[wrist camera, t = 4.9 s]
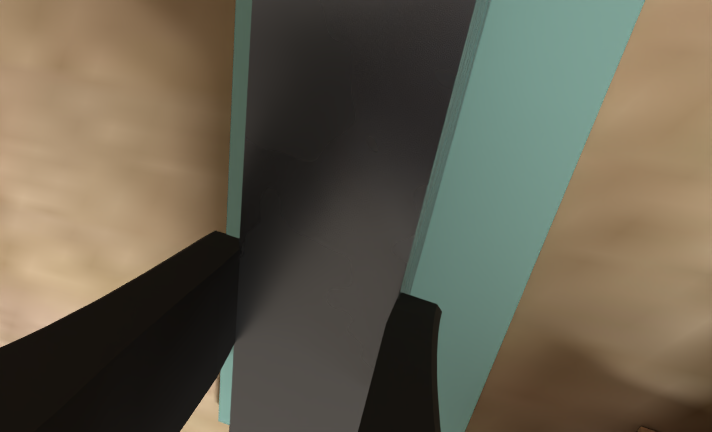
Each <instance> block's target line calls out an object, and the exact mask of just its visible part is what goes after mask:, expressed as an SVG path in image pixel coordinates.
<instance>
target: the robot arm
mask: <svg viewBox="0 0 712 432" xmlns="http://www.w3.org/2000/svg"><path fill="white" fill-rule="evenodd" d="M239 264H240V248H239V238H236V237H233V236H230V235H227V234H224V233H221V232H218V231H214V232H212V233H210V234H208V235H206V236H205V237H203V238H201V239H200V240H198V241H196V242H195V243H193V244H191V245H190V246H188V247H187V248H185V249H183V250H182V251H180V252H178V253H177V254H175V255H174V256H172V257H170V258H169V259H167V260H165V261H164V262H162V263H160V264H159V265H157V266H155V267H154V268H152V269H150V270H149V271H147V272H145V273H144V274H142V275H140V276H138V277H137V278H135V279H133V280H131V281H130V282H128V283H126V284H125V285H123V286H121V287H119V288H118V289H116V290H114V291H112V292H111V293H109V294H107V295H105V296H104V297H102V298H100V299H98V300H96V301H94V302H93V303H91V304H89V305H87V306H85V307H83V308H81V309H79V310H77V311H75V312H73V313H71V314H69V315H67V316H65V317H63V318H62V319H60V320H58V321H56V322H54V323H52V324H50V325H48V326H46V327H44V328H42V329H40V330H38V331H36V332H33V333H31V334H29V335H27V336H25V337H23V338H21V339H18V340H16V341H14V342H12V343H10V344H7V345H5V346H3V347H0V432H180V431H181V429H182V428H183V426H184V425H185V423H186V422H187V421H188V419H189V418H190V416H191V415H192V413H193V412H194V410H195V409H196V407H197V406H198V404H199V403H200V402H201V400H202V399H203V397H204V396H205V394H206V393H207V391H208V390H209V388H210V387H211V385H212V384H213V382H214V381H215V379H216V378H217V376H218V374H219V372H220V370H221V369H222V367H223V365H224V363H225V361H226V359H227V357H228V356H229V354H230V352H231V350H232V348H233V346H234V344H235V337H236V319H237V301H238V282H239ZM441 314H442V311H441V309H440V307H439V306H438V304H436V303H433V302H430V301H427V300H424V299H421V298H418V297H415V296H411V295H408V294H405V293H402V292H401V295H400V297H399V299H398V301H396V302H395V304H394V307H393V309H392V311H391V313H390V316H389V318H388V320H387V322H386V326H385V330H384V334H383V337H382V341H381V345H380V349H379V353H378V357H377V360H376V364H375V368H374V372H373V376H372V380H371V383H370V387H369V391H368V395H367V399H366V402H365V406H364V410H363V414H362V418H361V422H360V425H359V429H358V432H441V427H440V414H439V401H438V384H437V348H438V333H439V325H440V319H441Z"/></svg>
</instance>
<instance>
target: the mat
mask: <svg viewBox="0 0 712 432" xmlns="http://www.w3.org/2000/svg"><path fill="white" fill-rule="evenodd" d="M644 2H645V0H491V3H490V7H489V10H488V14H487V17H486V21H485V25H484V28H483V32H482V36H481V39H480V43H479V46H478V50H477V54H476V57H475V61H474V65H473V68H472V72H471V76H470V79H469V83H468V86H467V90H466V94H465V97H464V101H463V105H462V108H461V112H460V115H459V119H458V123H457V126H456V130H455V134H454V137H453V141H452V144H451V148H450V152H449V155H448V159H447V163H446V166H445V170H444V173H443V177H442V181H441V184H440V188H439V192H438V195H437V199H436V202H435V206H434V210H433V213H432V217H431V221H430V224H429V228H428V232H427V235H426V239H425V242H424V246H423V250H422V253H421V257H420V261H419V264H418V268H417V271H416V275H415V279H414V282H413V286H412V290H411V293H410V295H411V296H415V297H418V298H421V299H424V300H427V301H430V302H433V303H436V304H438V306H439V307H440V309H441V311H442V314H441V319H440V325H439V333H438V348H437V384H438V401H439V414H440V427H441V432H465V430H466V428H467V425H468V423H469V420H470V418H471V416H472V413H473V411H474V408H475V406H476V404H477V401H478V399H479V397H480V394H481V392H482V389H483V387H484V385H485V382H486V380H487V377H488V375H489V373H490V370H491V368H492V365H493V363H494V361H495V358H496V356H497V353H498V351H499V349H500V346H501V344H502V341H503V339H504V337H505V334H506V332H507V330H508V327H509V325H510V322H511V320H512V318H513V315H514V313H515V310H516V308H517V306H518V303H519V301H520V298H521V296H522V294H523V291H524V289H525V286H526V284H527V282H528V279H529V277H530V274H531V272H532V270H533V267H534V265H535V263H536V260H537V258H538V255H539V253H540V251H541V248H542V246H543V243H544V241H545V239H546V236H547V234H548V231H549V229H550V227H551V224H552V222H553V219H554V217H555V215H556V212H557V210H558V207H559V205H560V203H561V200H562V198H563V196H564V193H565V191H566V188H567V186H568V184H569V181H570V179H571V176H572V174H573V172H574V169H575V167H576V164H577V162H578V160H579V157H580V155H581V152H582V150H583V148H584V145H585V143H586V140H587V138H588V136H589V133H590V131H591V129H592V126H593V124H594V121H595V119H596V117H597V114H598V112H599V109H600V107H601V105H602V102H603V100H604V97H605V95H606V93H607V90H608V88H609V85H610V83H611V81H612V78H613V76H614V73H615V71H616V69H617V66H618V64H619V61H620V59H621V57H622V54H623V52H624V50H625V47H626V45H627V42H628V40H629V38H630V35H631V33H632V30H633V28H634V26H635V23H636V21H637V18H638V16H639V14H640V11H641V9H642V6H643V4H644ZM251 12H252V0H236V8H235V32H234V56H233V81H232V105H231V129H230V153H229V177H228V202H227V226H226V234H227V235H230V236H233V237H236V238H240V220H241V201H242V182H243V163H244V144H245V125H246V107H247V88H248V69H249V50H250V31H251ZM233 351H234V346H233V348H232V350H231V352H230V354H229V356H228V357H227V359H226V361H225V363H224V365H223V367H222V369H221V371H220V395H219V420H218V421H220V422H222V423H225V424H228V425H230V408H231V389H232V370H233Z"/></svg>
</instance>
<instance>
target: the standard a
mask: <svg viewBox="0 0 712 432" xmlns="http://www.w3.org/2000/svg"><path fill="white" fill-rule="evenodd" d="M637 432H656V431H653V430H650V429H647V428H644V427H640V428H639V430H638V431H637Z"/></svg>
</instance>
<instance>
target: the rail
mask: <svg viewBox="0 0 712 432" xmlns="http://www.w3.org/2000/svg"><path fill="white" fill-rule="evenodd" d="M490 3H491V0H252V12H251V31H250V50H249V69H248V88H247V107H246V125H245V144H244V163H243V182H242V201H241V220H240V238H239V248H240V264H239V282H238V301H237V319H236V337H235V344H234V351H233V370H232V389H231V408H230V427H229V432H358V429H359V425H360V422H361V418H362V414H363V410H364V406H365V402H366V399H367V395H368V391H369V387H370V383H371V380H372V376H373V372H374V368H375V364H376V360H377V357H378V353H379V349H380V345H381V341H382V337H383V334H384V330H385V326H386V322H387V320H388V318H389V316H390V313H391V311H392V309H393V307H394V304H395V302H396V301H398V299H399V297H400V295H401V292H402V293H405V294H408V295H410V293H411V290H412V286H413V282H414V279H415V275H416V271H417V268H418V264H419V261H420V257H421V253H422V250H423V246H424V242H425V239H426V235H427V232H428V228H429V224H430V221H431V217H432V213H433V210H434V206H435V202H436V199H437V195H438V192H439V188H440V184H441V181H442V177H443V173H444V170H445V166H446V163H447V159H448V155H449V152H450V148H451V144H452V141H453V137H454V134H455V130H456V126H457V123H458V119H459V115H460V112H461V108H462V105H463V101H464V97H465V94H466V90H467V86H468V83H469V79H470V76H471V72H472V68H473V65H474V61H475V57H476V54H477V50H478V46H479V43H480V39H481V36H482V32H483V28H484V25H485V21H486V17H487V14H488V10H489V7H490Z"/></svg>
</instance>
